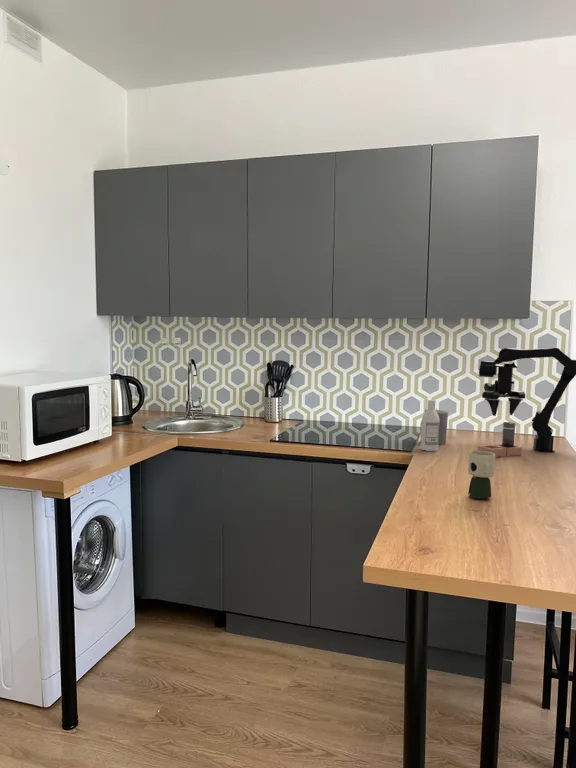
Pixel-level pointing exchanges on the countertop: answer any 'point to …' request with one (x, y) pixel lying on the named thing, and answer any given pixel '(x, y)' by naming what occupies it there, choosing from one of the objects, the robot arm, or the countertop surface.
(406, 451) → the countertop surface
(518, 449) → the collar
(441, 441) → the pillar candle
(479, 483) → the character mug
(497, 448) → the collar
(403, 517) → the countertop surface
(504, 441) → the tube
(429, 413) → the bath foam
